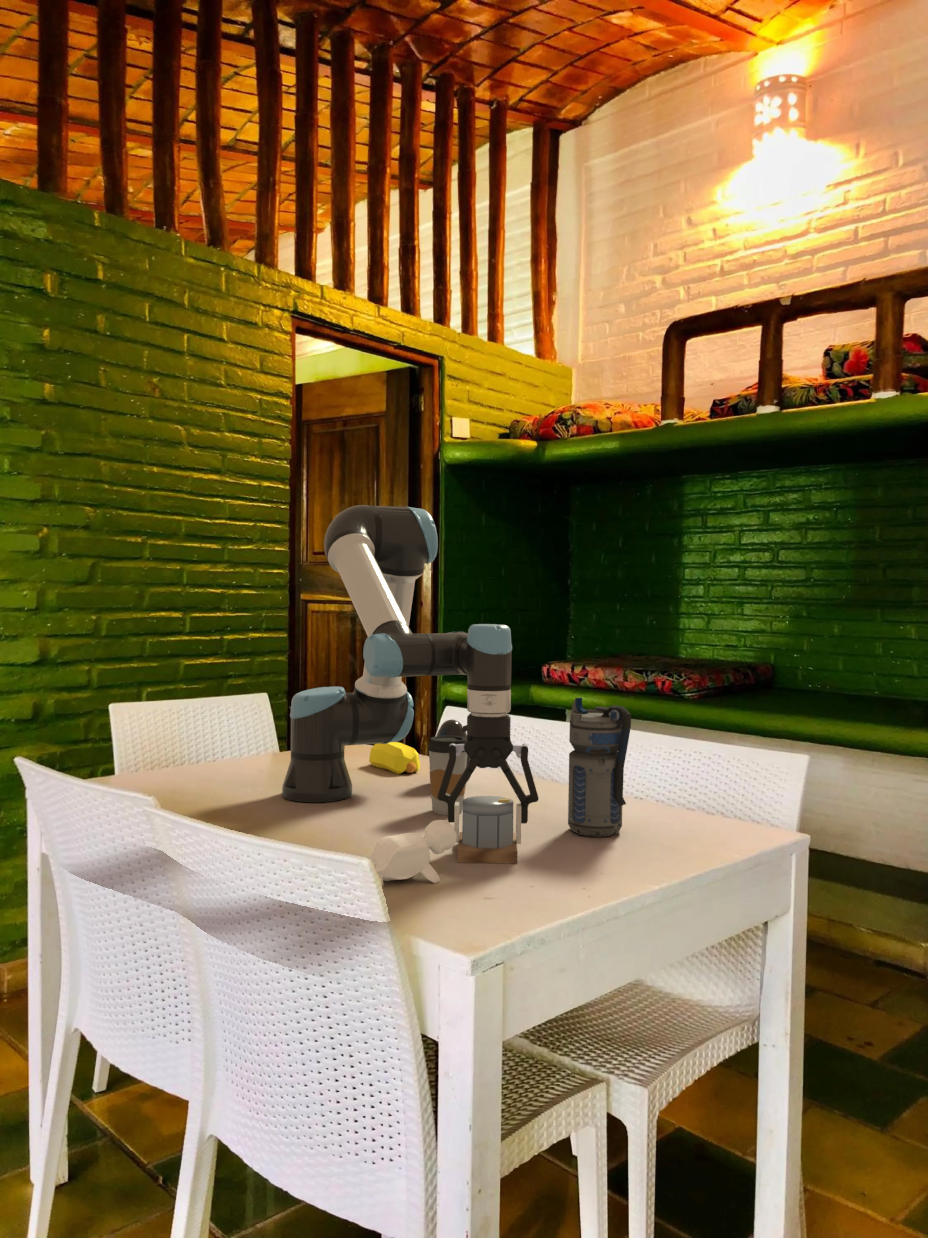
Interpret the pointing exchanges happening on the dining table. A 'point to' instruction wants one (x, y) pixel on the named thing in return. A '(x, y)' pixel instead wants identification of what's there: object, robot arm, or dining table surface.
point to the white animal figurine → (412, 852)
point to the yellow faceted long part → (395, 757)
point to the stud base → (487, 853)
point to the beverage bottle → (597, 768)
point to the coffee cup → (437, 769)
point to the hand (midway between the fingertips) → (487, 841)
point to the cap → (487, 822)
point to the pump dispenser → (453, 731)
